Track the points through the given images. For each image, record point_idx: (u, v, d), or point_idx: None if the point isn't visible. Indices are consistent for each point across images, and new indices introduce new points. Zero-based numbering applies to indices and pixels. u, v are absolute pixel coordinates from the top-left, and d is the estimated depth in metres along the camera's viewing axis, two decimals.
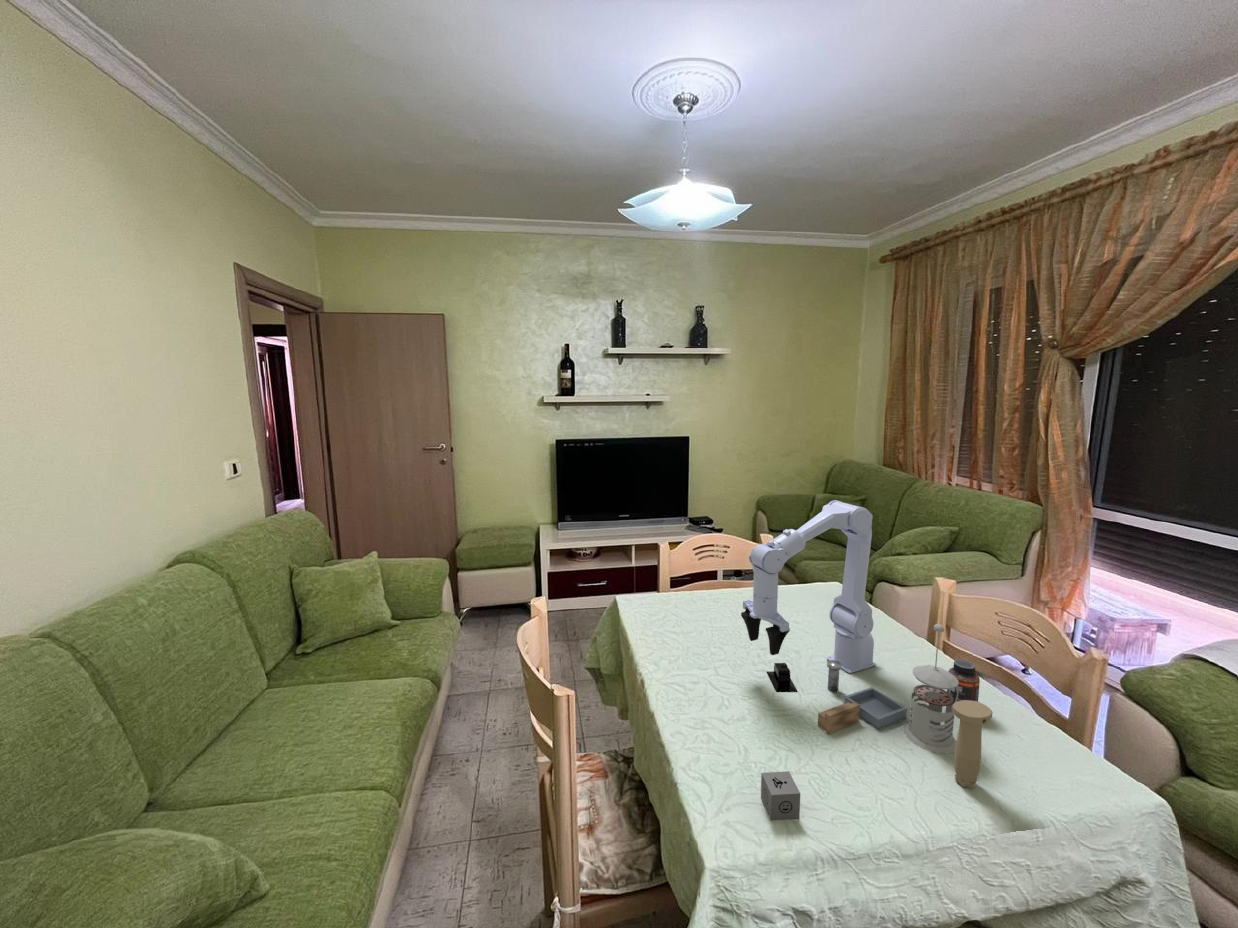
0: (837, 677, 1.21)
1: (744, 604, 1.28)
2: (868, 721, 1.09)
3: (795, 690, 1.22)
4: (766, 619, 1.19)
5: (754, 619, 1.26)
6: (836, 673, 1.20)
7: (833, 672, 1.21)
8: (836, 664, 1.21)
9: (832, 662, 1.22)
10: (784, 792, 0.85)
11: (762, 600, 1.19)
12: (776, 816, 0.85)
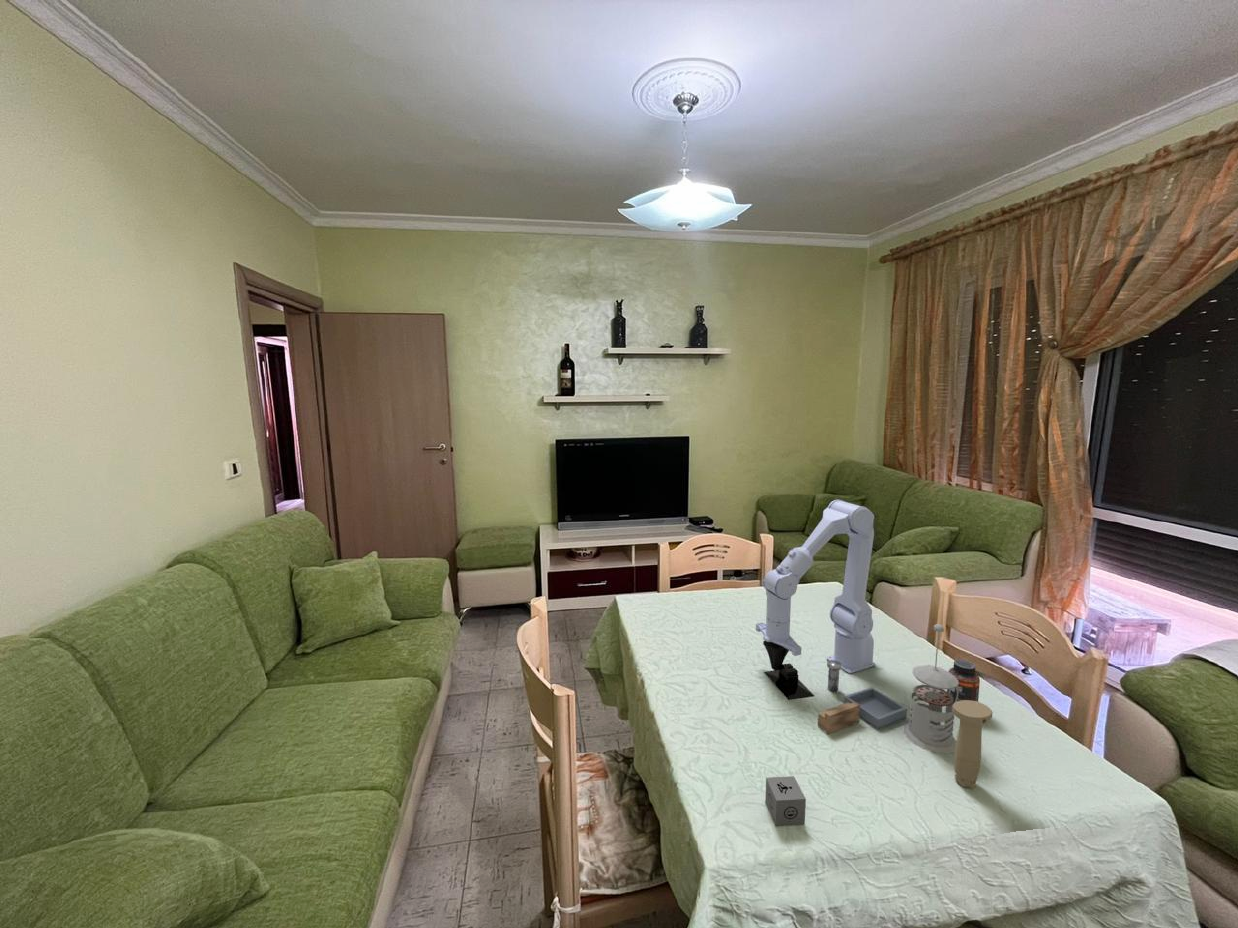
0: (837, 677, 1.21)
1: (757, 626, 1.31)
2: (868, 721, 1.09)
3: (804, 690, 1.22)
4: (779, 643, 1.22)
5: None
6: (836, 673, 1.20)
7: (833, 672, 1.21)
8: (836, 664, 1.21)
9: (832, 662, 1.22)
10: (789, 798, 0.84)
11: (775, 624, 1.23)
12: (781, 822, 0.84)
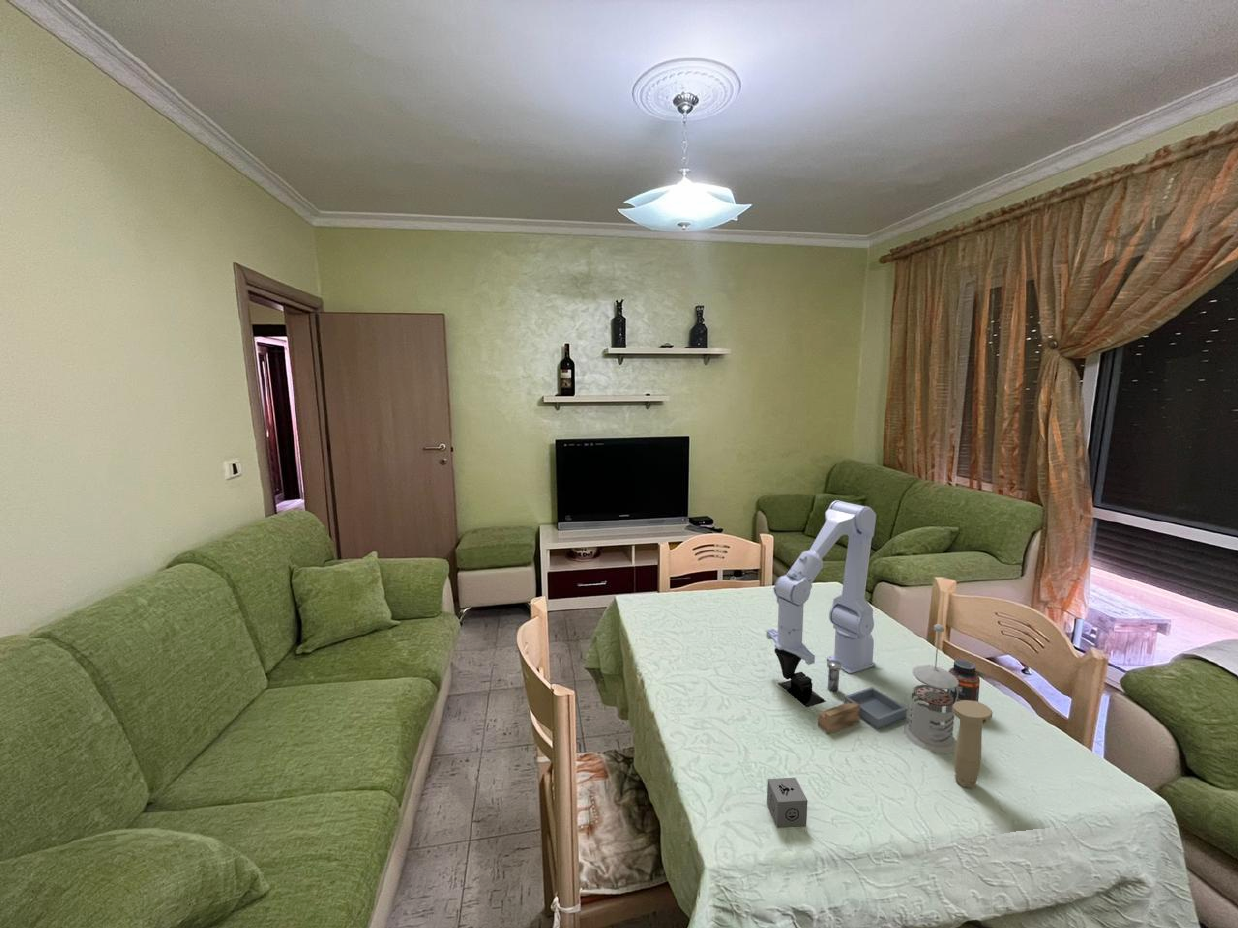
0: (837, 677, 1.21)
1: (768, 634, 1.28)
2: (868, 721, 1.09)
3: (820, 698, 1.19)
4: (791, 651, 1.19)
5: None
6: (836, 673, 1.20)
7: (833, 672, 1.21)
8: (836, 664, 1.21)
9: (832, 662, 1.22)
10: (791, 799, 0.84)
11: (787, 632, 1.19)
12: (782, 824, 0.84)
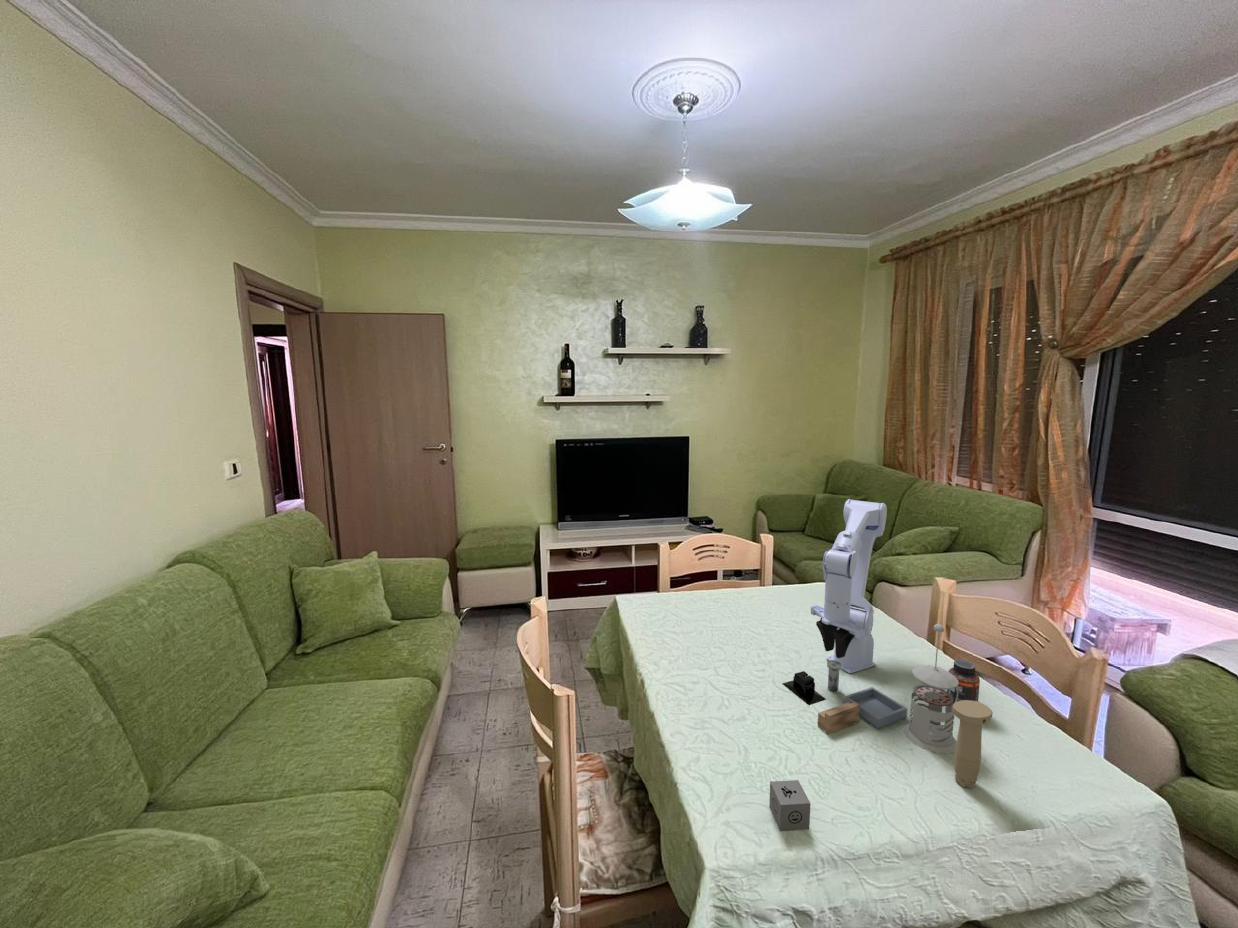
0: (837, 677, 1.21)
1: (812, 610, 1.25)
2: (868, 721, 1.09)
3: (822, 697, 1.19)
4: (840, 625, 1.16)
5: (830, 629, 1.22)
6: (836, 673, 1.20)
7: (833, 672, 1.21)
8: (836, 664, 1.21)
9: (832, 662, 1.22)
10: (794, 802, 0.83)
11: (836, 606, 1.17)
12: (785, 827, 0.83)
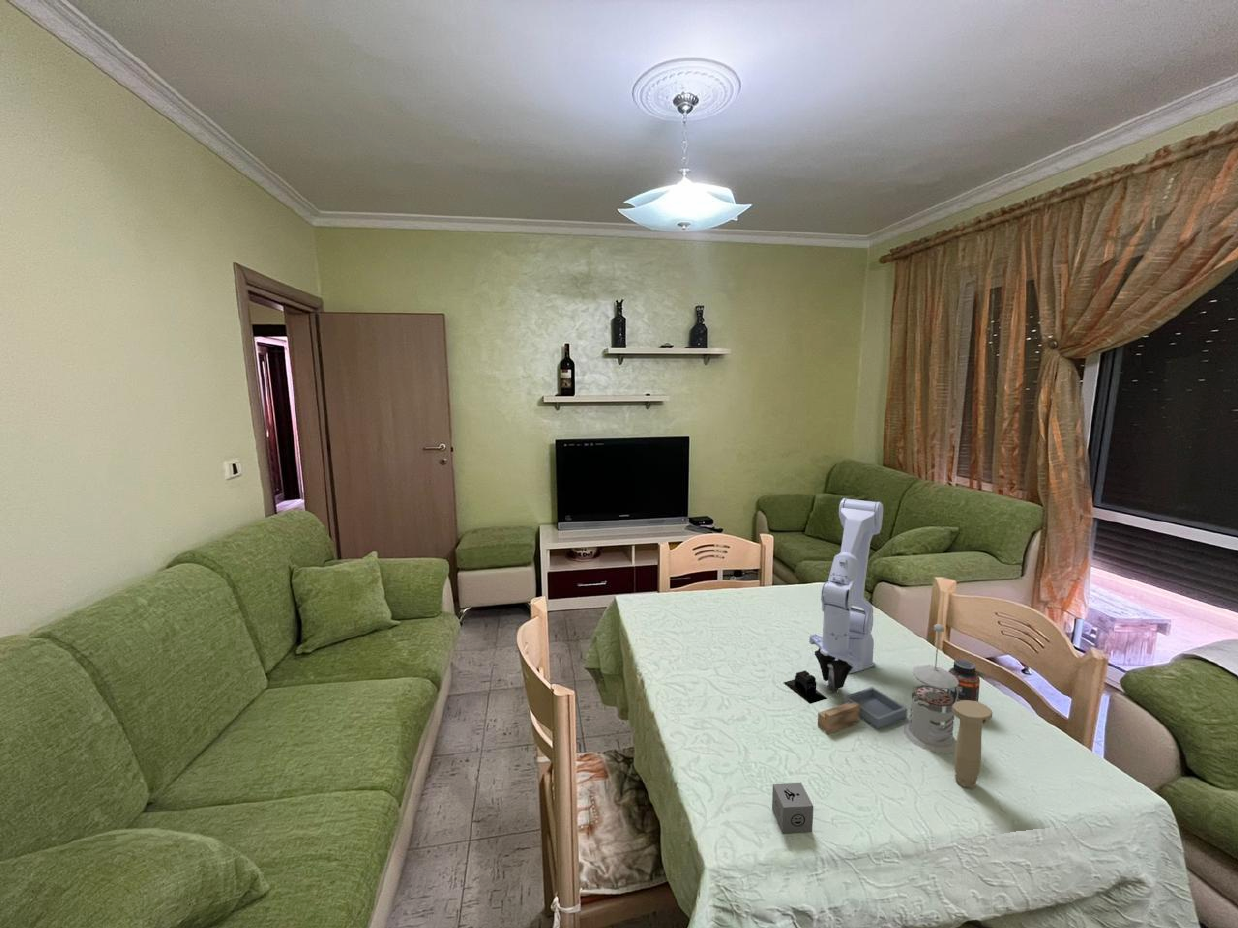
0: None
1: (811, 639, 1.26)
2: (868, 721, 1.09)
3: (824, 697, 1.19)
4: (838, 657, 1.17)
5: (828, 658, 1.23)
6: None
7: (833, 672, 1.21)
8: None
9: None
10: (796, 805, 0.82)
11: (834, 637, 1.18)
12: (788, 829, 0.83)
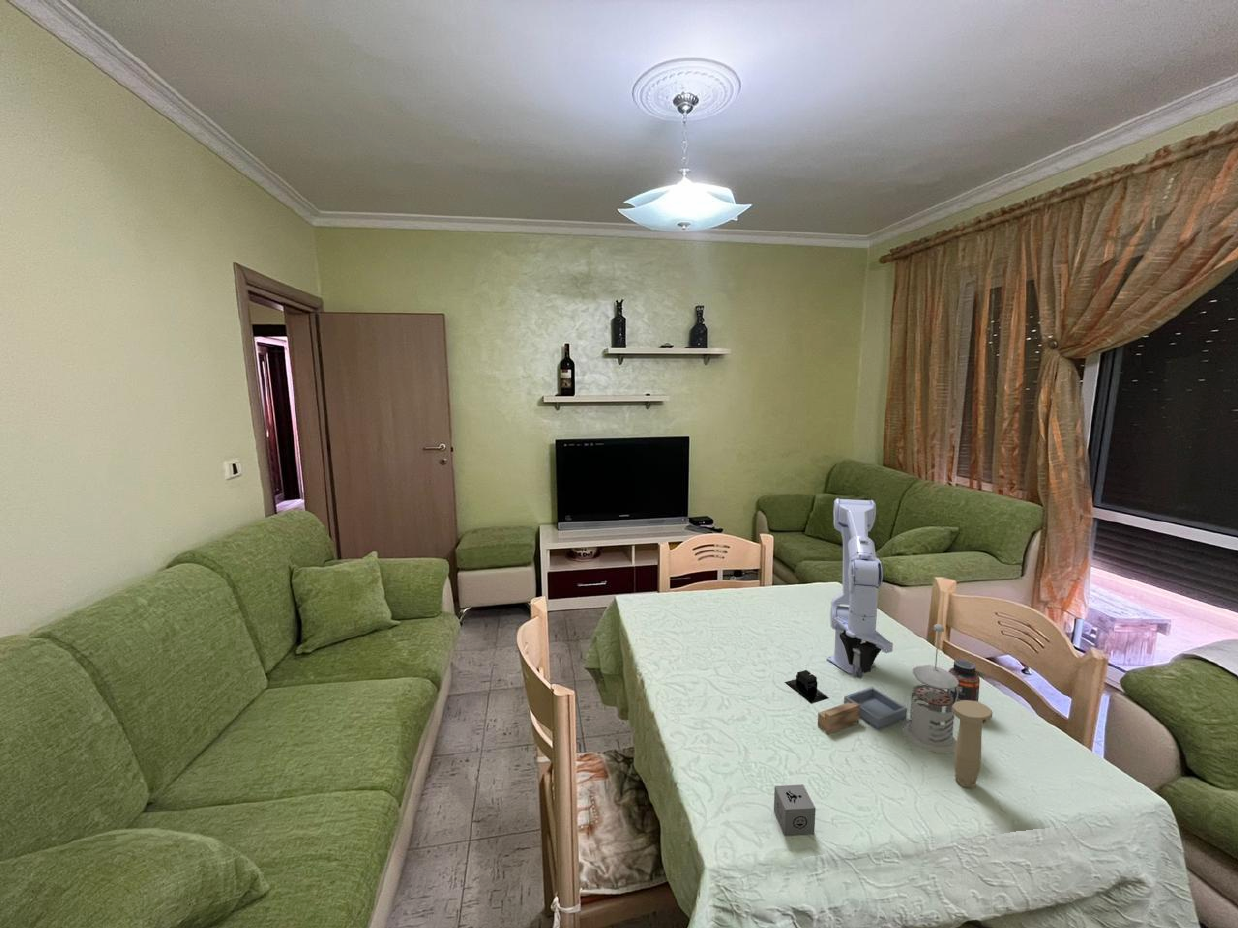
0: None
1: (835, 621, 1.20)
2: (868, 721, 1.09)
3: (825, 696, 1.19)
4: (865, 639, 1.11)
5: (854, 641, 1.16)
6: None
7: (858, 657, 1.14)
8: None
9: None
10: (798, 807, 0.82)
11: (861, 618, 1.11)
12: (790, 832, 0.82)
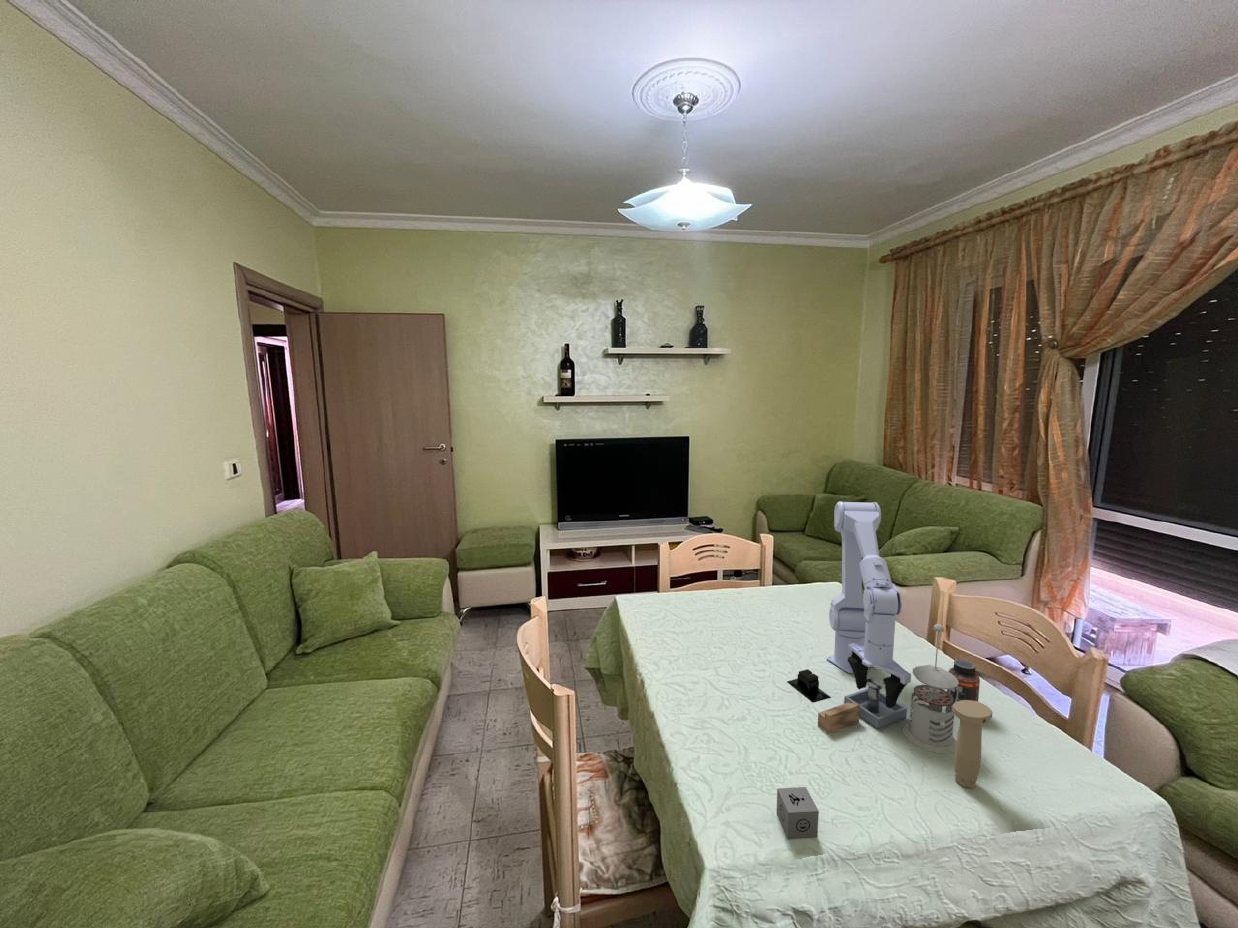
0: (878, 697, 1.12)
1: (850, 648, 1.17)
2: (868, 721, 1.09)
3: (826, 695, 1.20)
4: (883, 669, 1.08)
5: (863, 665, 1.15)
6: (877, 692, 1.11)
7: (873, 692, 1.12)
8: (877, 683, 1.12)
9: (872, 680, 1.13)
10: (801, 809, 0.81)
11: (878, 647, 1.08)
12: (793, 835, 0.82)
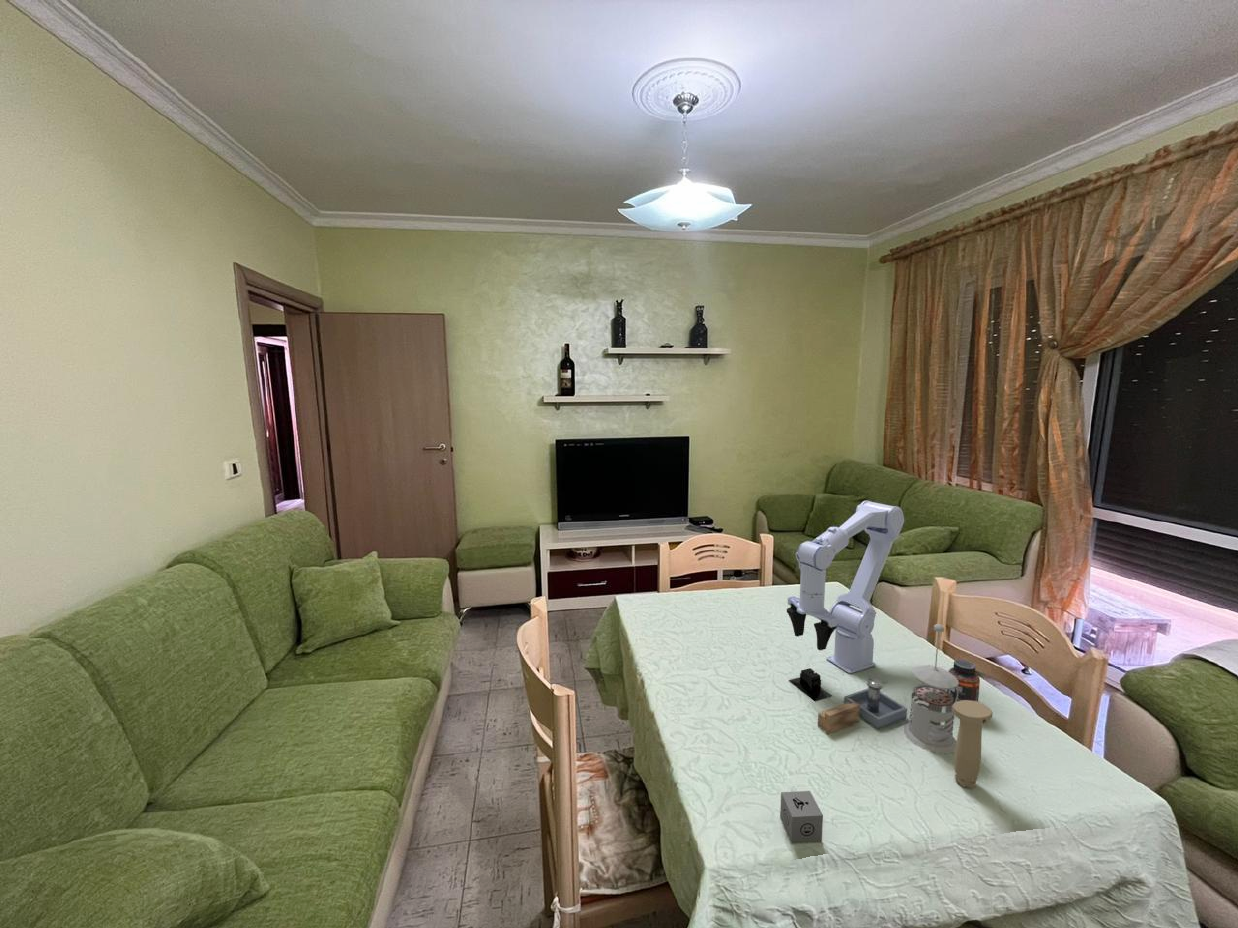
0: (878, 697, 1.12)
1: (789, 600, 1.30)
2: (868, 721, 1.09)
3: (828, 694, 1.20)
4: (814, 615, 1.21)
5: (800, 615, 1.28)
6: (877, 692, 1.11)
7: (873, 692, 1.12)
8: (877, 683, 1.12)
9: (872, 680, 1.13)
10: (806, 814, 0.81)
11: (810, 596, 1.21)
12: (797, 839, 0.81)
